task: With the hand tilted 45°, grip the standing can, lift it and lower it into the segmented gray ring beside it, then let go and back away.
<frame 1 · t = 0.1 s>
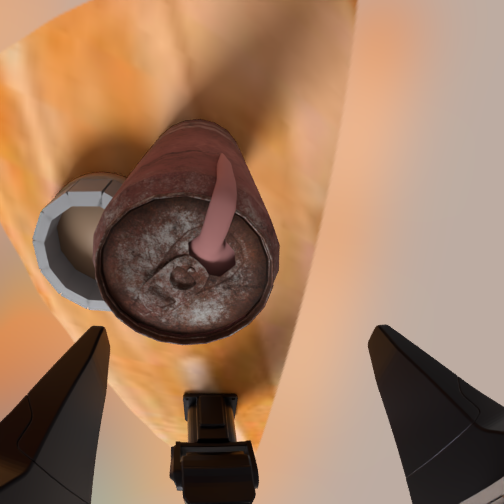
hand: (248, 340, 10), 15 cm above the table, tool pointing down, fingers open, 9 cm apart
segmented gray ring: (105, 233, 23), on the table
can: (196, 158, 21), on the table
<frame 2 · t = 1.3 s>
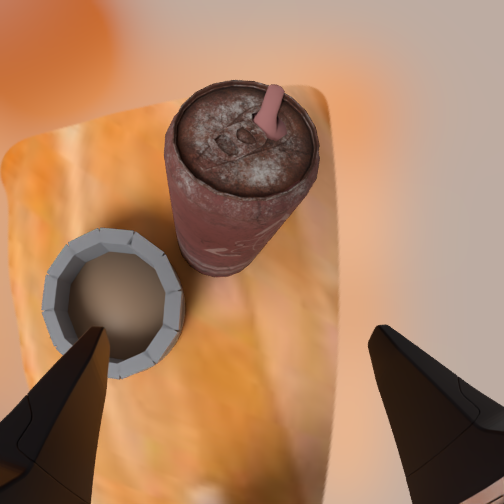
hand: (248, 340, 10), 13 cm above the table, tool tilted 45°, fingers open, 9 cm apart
segmented gray ring: (119, 306, 21), on the table
can: (218, 237, 24), on the table
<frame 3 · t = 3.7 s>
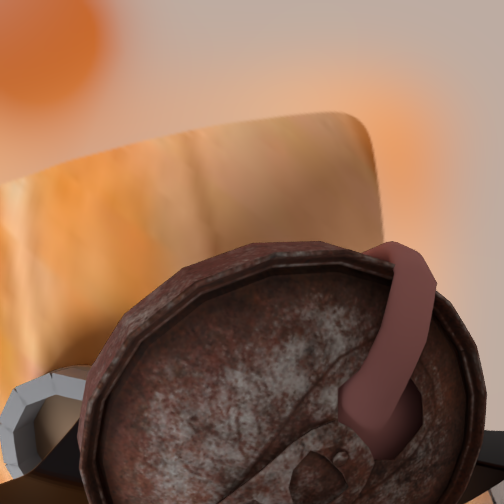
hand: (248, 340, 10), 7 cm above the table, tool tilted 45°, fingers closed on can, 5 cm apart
segmented gray ring: (98, 447, 13), on the table
can: (225, 362, 16), on the table, touching gripper
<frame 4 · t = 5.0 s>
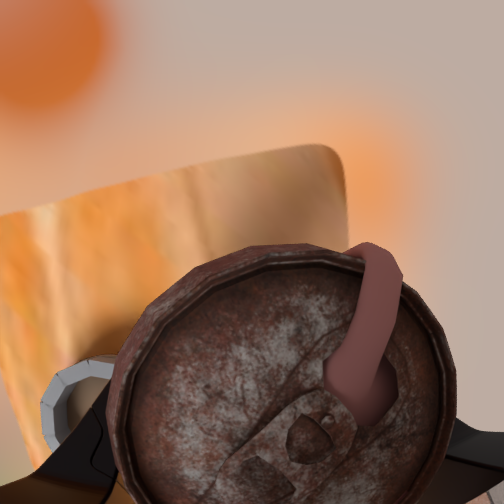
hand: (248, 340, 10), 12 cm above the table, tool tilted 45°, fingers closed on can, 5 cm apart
segmented gray ring: (118, 420, 19), on the table
can: (226, 359, 17), point 4 cm above the table, touching gripper
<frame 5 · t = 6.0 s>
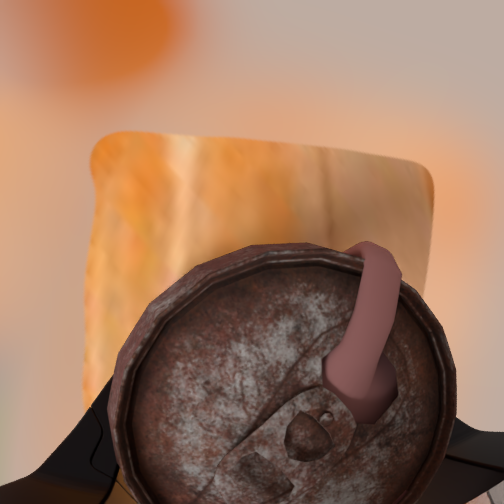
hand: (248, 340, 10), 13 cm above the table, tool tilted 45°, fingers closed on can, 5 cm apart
can: (230, 360, 17), point 5 cm above the table, touching gripper
when the fingers open (9 cm above the table, at t = 7.4 s): can stays where it is, resting on segmented gray ring.
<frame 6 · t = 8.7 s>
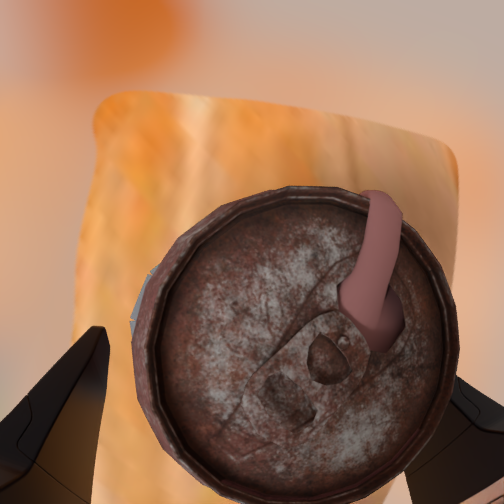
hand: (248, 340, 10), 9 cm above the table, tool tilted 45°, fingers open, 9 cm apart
segmented gray ring: (222, 331, 19), on the table
can: (229, 337, 18), point 1 cm above the table, touching segmented gray ring
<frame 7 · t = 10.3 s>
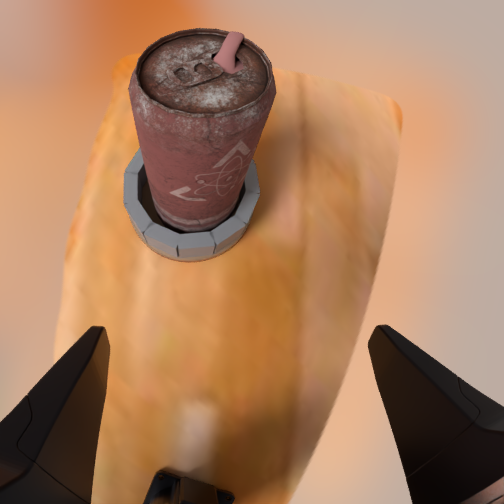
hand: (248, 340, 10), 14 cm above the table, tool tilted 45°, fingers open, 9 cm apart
segmented gray ring: (190, 201, 25), on the table
can: (194, 201, 24), point 1 cm above the table, touching segmented gray ring
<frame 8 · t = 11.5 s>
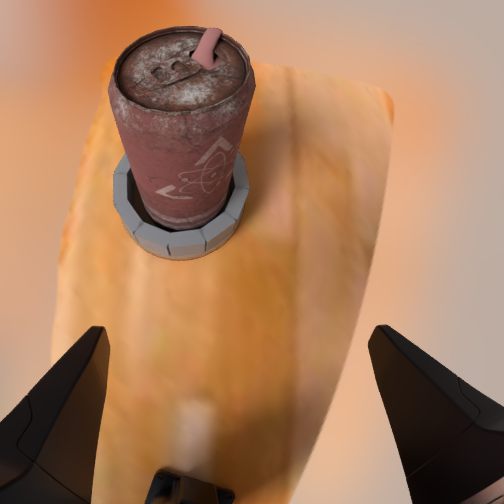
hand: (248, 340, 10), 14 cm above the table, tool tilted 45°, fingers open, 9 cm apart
segmented gray ring: (181, 199, 24), on the table
can: (185, 199, 24), point 1 cm above the table, touching segmented gray ring
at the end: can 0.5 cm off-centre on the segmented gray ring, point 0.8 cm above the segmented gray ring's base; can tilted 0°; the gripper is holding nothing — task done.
